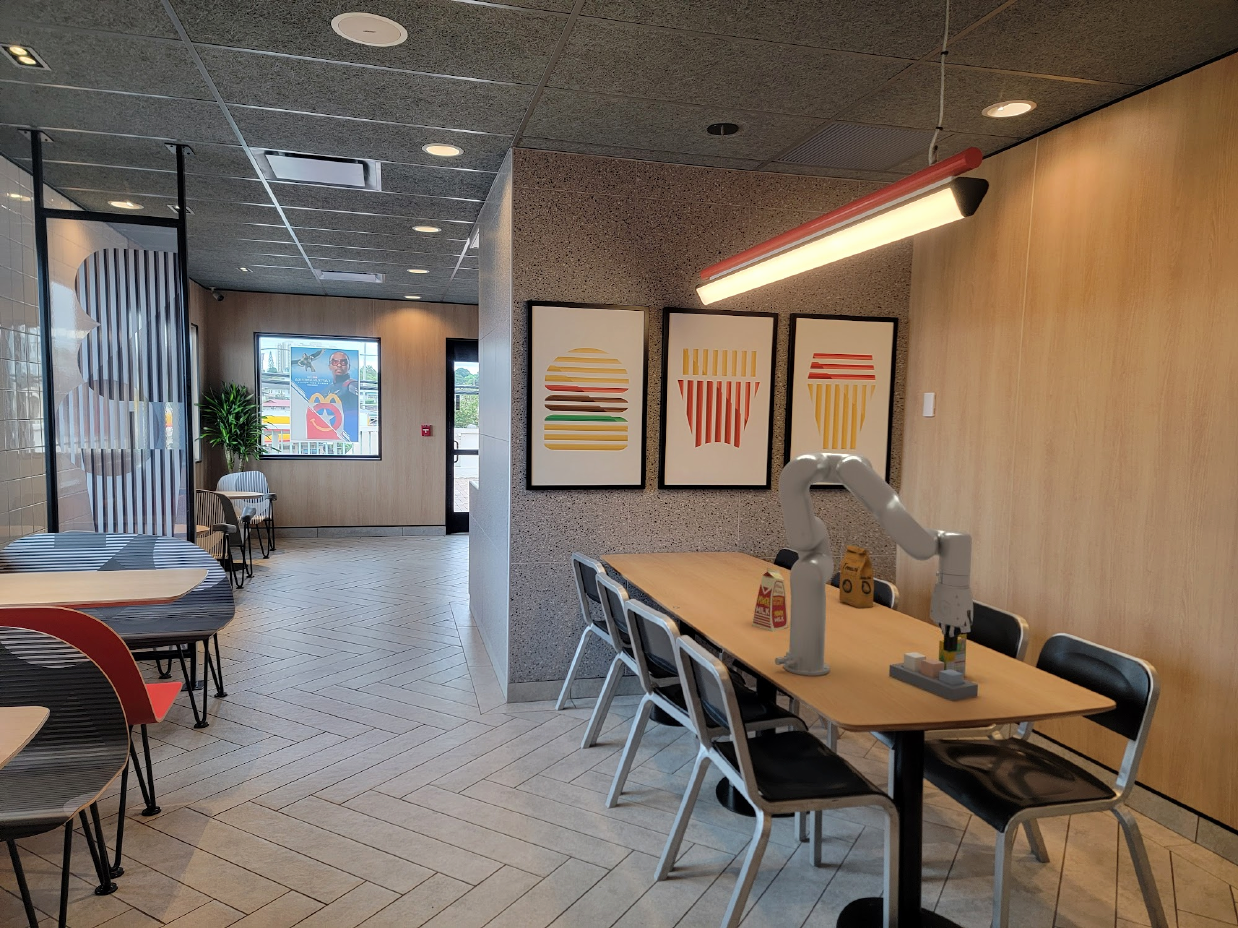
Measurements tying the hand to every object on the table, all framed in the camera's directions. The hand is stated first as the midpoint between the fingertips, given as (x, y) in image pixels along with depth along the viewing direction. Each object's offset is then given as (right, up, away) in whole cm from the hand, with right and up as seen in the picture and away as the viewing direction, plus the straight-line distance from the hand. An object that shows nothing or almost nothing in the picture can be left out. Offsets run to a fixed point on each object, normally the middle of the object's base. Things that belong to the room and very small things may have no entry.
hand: (950, 650), depth 203 cm
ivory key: (-5, -8, +11) cm, 14 cm away
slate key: (0, -10, 0) cm, 10 cm away
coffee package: (+5, -6, +96) cm, 96 cm away
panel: (-3, -11, +5) cm, 12 cm away
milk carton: (-34, -7, +62) cm, 71 cm away
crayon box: (+6, -10, +14) cm, 19 cm away
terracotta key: (-2, -8, +5) cm, 10 cm away
